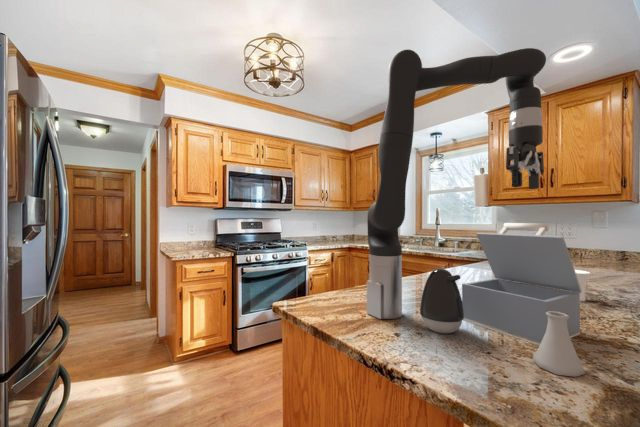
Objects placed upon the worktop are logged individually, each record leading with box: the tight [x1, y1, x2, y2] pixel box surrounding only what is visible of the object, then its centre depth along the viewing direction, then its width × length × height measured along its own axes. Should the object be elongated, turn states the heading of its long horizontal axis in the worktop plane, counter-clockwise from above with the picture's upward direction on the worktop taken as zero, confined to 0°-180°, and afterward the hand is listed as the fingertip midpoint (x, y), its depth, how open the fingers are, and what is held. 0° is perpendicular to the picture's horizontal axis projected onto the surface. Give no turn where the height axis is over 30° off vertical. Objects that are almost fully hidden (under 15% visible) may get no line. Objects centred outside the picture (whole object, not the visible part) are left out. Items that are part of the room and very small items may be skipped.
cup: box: [565, 269, 591, 302], centre depth 102 cm, size 9×9×10 cm
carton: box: [461, 277, 581, 346], centre depth 76 cm, size 16×20×10 cm
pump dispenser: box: [419, 268, 464, 334], centre depth 73 cm, size 10×10×15 cm
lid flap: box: [476, 222, 582, 293], centre depth 79 cm, size 16×20×7 cm
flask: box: [532, 311, 586, 377], centre depth 55 cm, size 7×7×10 cm
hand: (525, 188), depth 79 cm, fingers open, 8 cm apart
